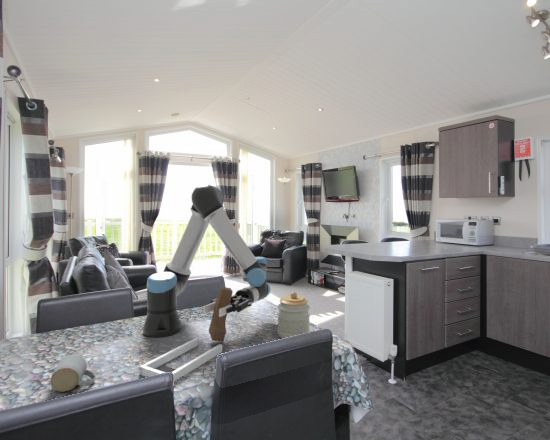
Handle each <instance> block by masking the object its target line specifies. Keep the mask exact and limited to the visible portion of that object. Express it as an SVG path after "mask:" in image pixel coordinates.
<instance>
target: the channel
mask: <svg viewBox="0 0 550 440" xmlns="http://www.w3.org/2000/svg"><path fill="white" fill-rule="evenodd" d="M197 346H199V338H197V337H195V338H193V339H191V340H190V341H187V342H185V343H184V344H181V345H179V346H177V347H175V348H173V349H171V350H169V351H168V352H166V353H164V354H162V355H159V356H157V357H155V358H154V359H153V358H152V359H151V360H150V361H148V362H146V363H144V364H142V365H140V366H139V375H141V376H143V377H145V378H148V377H147V376H151V375H156V374H161V373H165V372H172V373H173V375H174V382H176V381H178V380H179V379H181V378H183V377H184V376H186V375H188V374H190V373H191V372H192V371H194V370H195V369H197V368H198V367H200V366H202V365H203V364H205V363H207V362H208V361H210V360H211V359H214V357H216V356H218V355H219V354H221V353H222V352H223V344H220V343H219V344H218V345H216V346H214V347H212V348H211V349H209V350H207V351H205V352H204V353H202V354H200V355H199V356H196V357H195V358H193V359H192V360H189V361H188V362H186V363H185V364H183V365H181V366H179V367H177V368H173V367H169V366H166V365H164V364H166V363H168V362H169V361H172V360H174V359H176V358H177V357H180V356H181V355H183V354H185V353H186V352H188V351H190V350H192V349H194V348H196V347H197ZM217 354H218V355H217ZM182 376H183V377H182ZM180 377H181V378H180ZM177 379H178V380H177ZM174 382H173V383H174Z"/></svg>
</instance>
